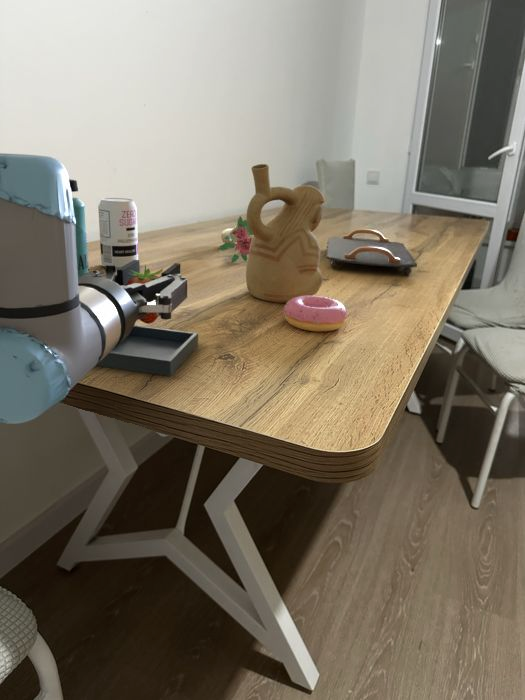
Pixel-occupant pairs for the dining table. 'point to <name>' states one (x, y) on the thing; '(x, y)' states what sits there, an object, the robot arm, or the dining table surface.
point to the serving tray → (369, 251)
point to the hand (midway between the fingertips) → (157, 271)
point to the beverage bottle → (80, 232)
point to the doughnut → (315, 313)
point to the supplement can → (118, 231)
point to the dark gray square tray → (152, 350)
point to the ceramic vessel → (283, 241)
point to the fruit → (142, 280)
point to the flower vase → (237, 239)
